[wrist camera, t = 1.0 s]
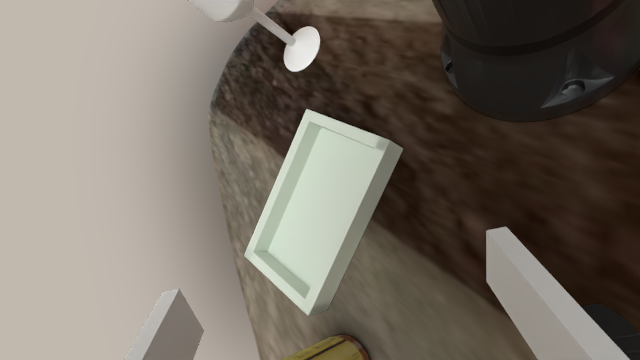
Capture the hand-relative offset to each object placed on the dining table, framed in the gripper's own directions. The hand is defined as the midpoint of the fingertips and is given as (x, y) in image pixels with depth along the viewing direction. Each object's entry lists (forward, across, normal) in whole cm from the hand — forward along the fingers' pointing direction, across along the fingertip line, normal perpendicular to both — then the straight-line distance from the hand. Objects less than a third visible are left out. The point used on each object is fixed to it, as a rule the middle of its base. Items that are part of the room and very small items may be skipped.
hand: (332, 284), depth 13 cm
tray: (+23, -2, -10) cm, 25 cm away
